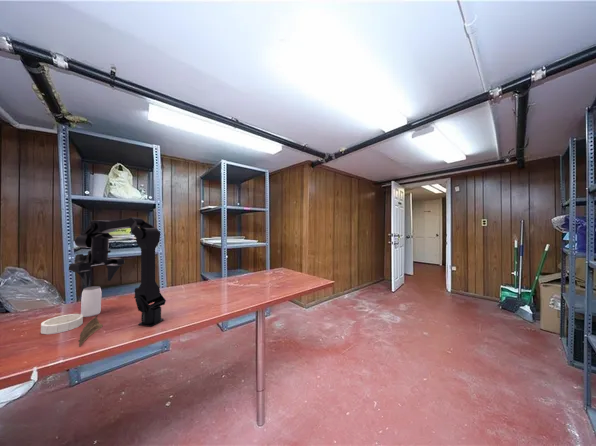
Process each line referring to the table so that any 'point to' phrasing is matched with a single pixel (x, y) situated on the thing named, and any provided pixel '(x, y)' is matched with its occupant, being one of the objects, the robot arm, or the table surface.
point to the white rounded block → (91, 301)
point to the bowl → (61, 323)
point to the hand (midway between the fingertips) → (98, 283)
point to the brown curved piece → (89, 329)
